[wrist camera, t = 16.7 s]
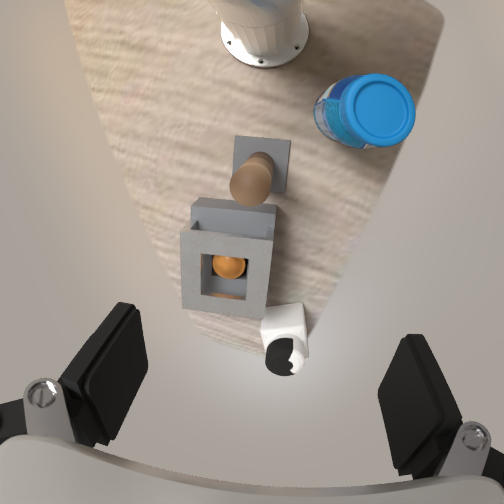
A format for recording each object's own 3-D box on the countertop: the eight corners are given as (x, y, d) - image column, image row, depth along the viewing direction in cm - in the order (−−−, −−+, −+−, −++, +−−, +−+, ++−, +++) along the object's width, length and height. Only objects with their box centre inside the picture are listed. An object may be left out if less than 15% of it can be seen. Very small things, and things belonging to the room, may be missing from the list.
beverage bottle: (304, 130, 42) (321, 135, 24) (322, 78, 39) (351, 47, 21) (357, 150, 43) (408, 172, 24) (375, 100, 39) (435, 89, 21)
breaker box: (199, 197, 48) (190, 206, 43) (276, 204, 47) (275, 214, 43) (198, 286, 54) (191, 301, 50) (266, 294, 54) (264, 310, 49)
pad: (235, 135, 44) (235, 135, 43) (289, 140, 43) (289, 140, 43) (231, 187, 47) (231, 188, 46) (284, 192, 46) (284, 193, 46)
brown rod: (247, 150, 44) (230, 165, 29) (274, 152, 44) (272, 168, 29) (245, 176, 45) (228, 204, 31) (272, 179, 45) (268, 208, 31)
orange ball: (220, 234, 50) (212, 247, 45) (250, 237, 49) (246, 251, 44) (218, 261, 52) (212, 276, 46) (247, 264, 51) (243, 280, 46)
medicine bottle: (269, 337, 58) (265, 383, 47) (262, 306, 55) (257, 351, 44) (307, 332, 56) (310, 378, 45) (302, 301, 54) (306, 345, 43)
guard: (190, 219, 44) (180, 231, 40) (274, 227, 43) (273, 240, 39) (190, 291, 49) (182, 308, 44) (266, 300, 48) (264, 319, 44)
